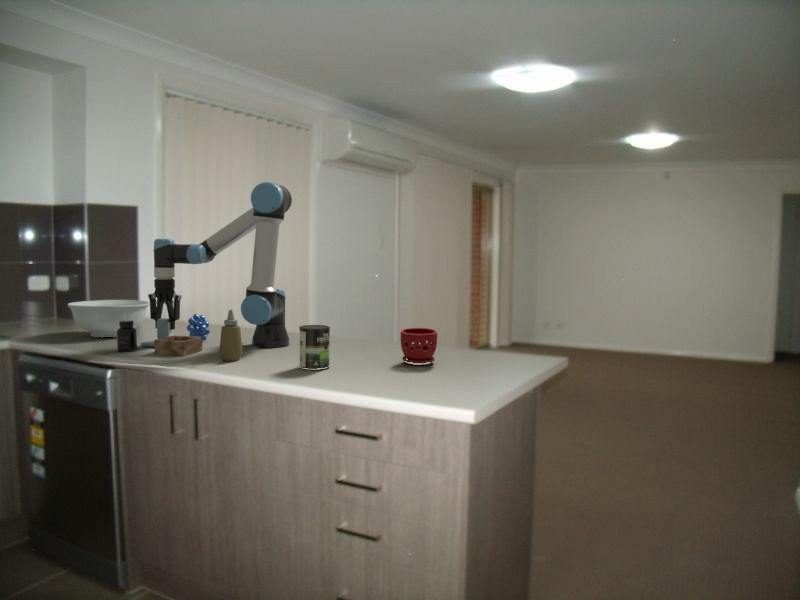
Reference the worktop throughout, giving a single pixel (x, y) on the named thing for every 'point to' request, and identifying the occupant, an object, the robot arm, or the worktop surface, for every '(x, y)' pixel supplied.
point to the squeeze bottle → (230, 339)
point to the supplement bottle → (126, 337)
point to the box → (178, 345)
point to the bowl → (107, 315)
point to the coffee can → (314, 346)
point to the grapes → (198, 326)
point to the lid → (159, 331)
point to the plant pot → (416, 350)
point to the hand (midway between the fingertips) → (165, 337)
